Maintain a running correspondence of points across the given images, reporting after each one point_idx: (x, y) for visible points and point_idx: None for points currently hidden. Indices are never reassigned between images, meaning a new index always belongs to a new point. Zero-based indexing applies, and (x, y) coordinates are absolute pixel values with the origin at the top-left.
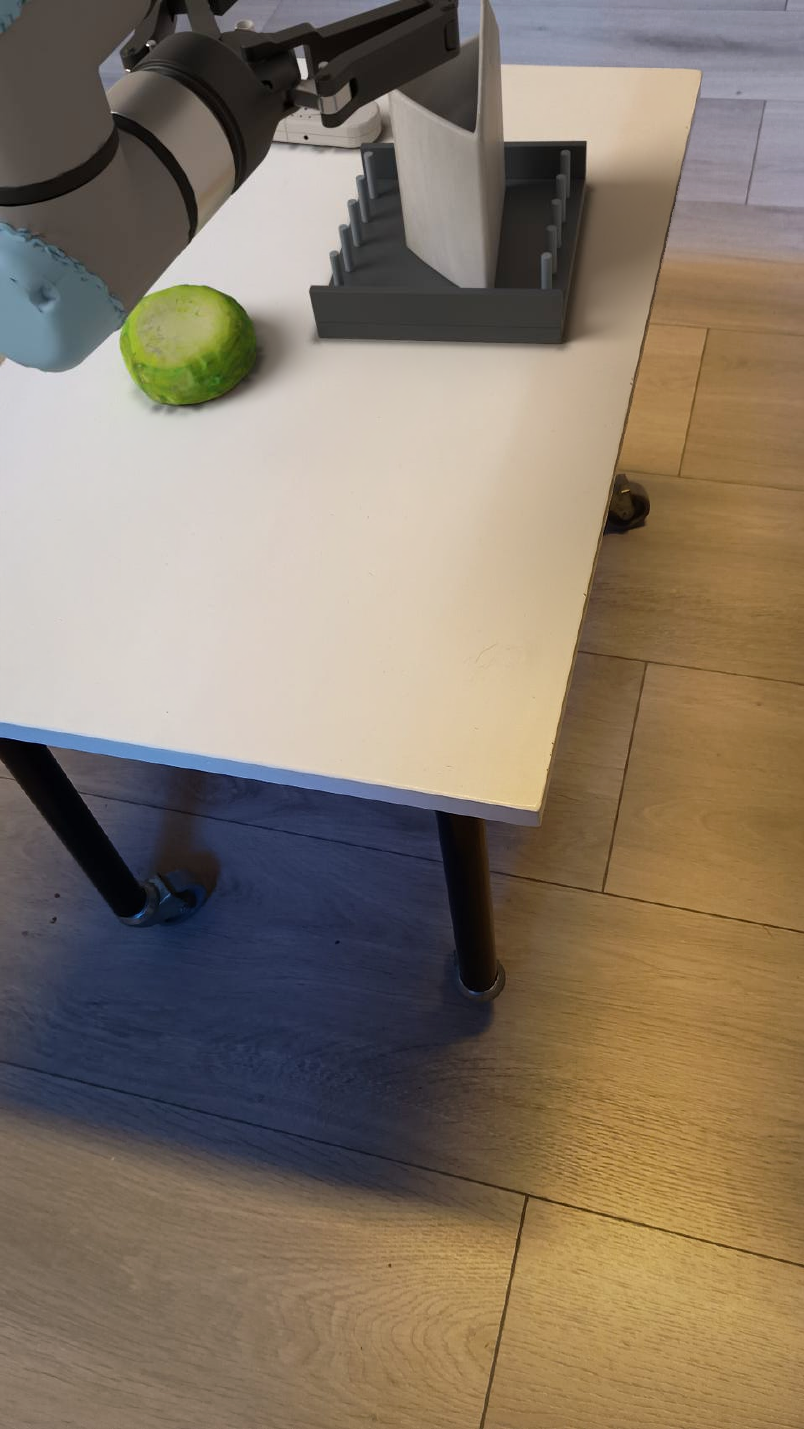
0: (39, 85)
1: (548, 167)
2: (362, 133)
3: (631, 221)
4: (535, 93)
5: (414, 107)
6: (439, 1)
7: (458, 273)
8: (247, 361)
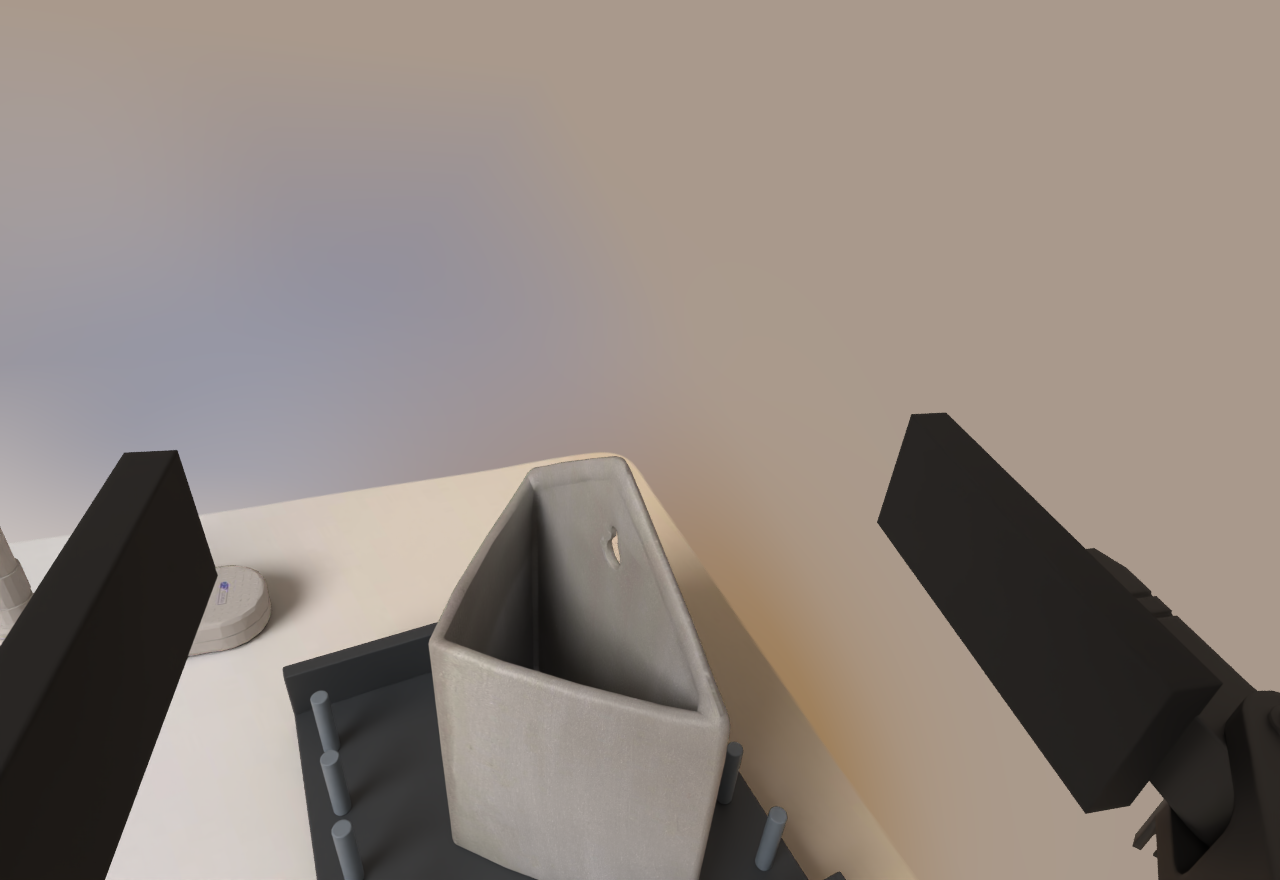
0: None
1: None
2: (248, 624)
3: (720, 647)
4: (463, 497)
5: (523, 679)
6: (1249, 689)
7: None
8: None
